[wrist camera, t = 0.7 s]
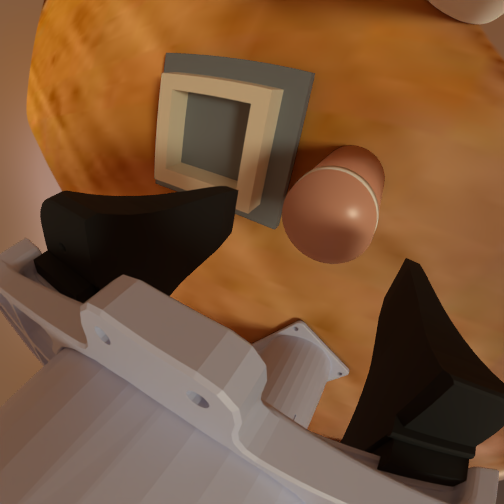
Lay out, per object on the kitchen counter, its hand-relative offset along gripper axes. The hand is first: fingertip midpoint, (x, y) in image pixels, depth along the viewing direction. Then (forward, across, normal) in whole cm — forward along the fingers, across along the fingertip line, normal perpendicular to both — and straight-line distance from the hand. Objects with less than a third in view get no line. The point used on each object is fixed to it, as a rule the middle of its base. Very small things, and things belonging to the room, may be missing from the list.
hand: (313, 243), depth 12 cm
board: (+10, +10, 0) cm, 14 cm away
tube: (+10, 0, 0) cm, 10 cm away
